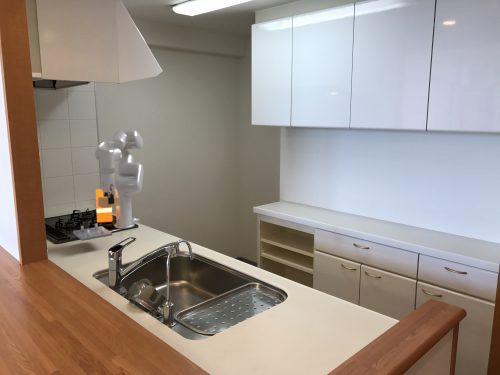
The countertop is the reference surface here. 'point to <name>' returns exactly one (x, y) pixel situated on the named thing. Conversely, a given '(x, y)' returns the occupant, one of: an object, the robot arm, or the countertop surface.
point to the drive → (104, 202)
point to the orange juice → (103, 209)
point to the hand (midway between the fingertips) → (108, 202)
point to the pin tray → (92, 233)
